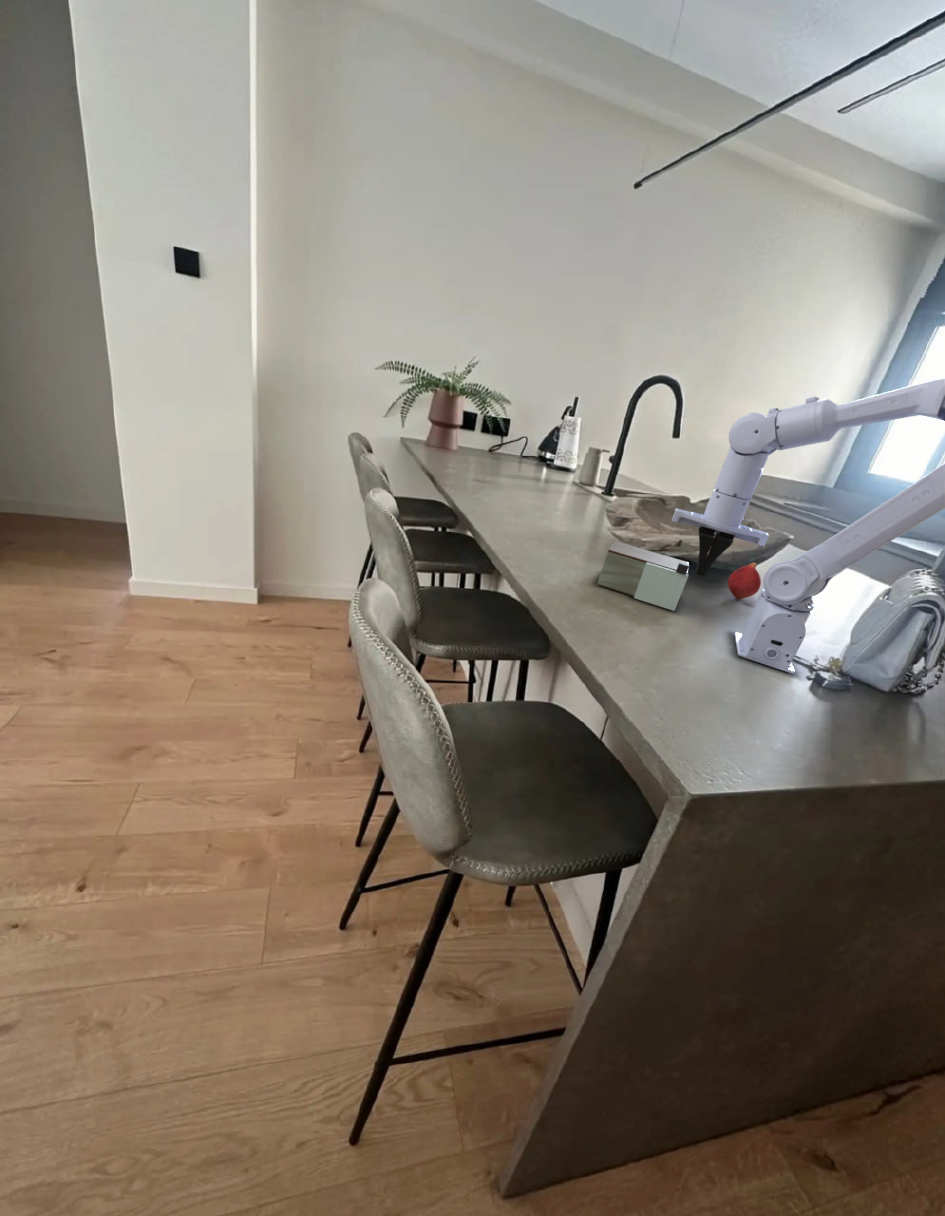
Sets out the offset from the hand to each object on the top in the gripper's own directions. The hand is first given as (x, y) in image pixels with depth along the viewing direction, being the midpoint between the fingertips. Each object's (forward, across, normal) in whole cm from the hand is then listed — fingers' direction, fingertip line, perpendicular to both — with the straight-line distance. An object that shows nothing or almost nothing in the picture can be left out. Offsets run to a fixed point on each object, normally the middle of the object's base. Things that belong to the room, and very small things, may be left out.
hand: (699, 573), depth 89 cm
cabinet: (+8, +9, -5) cm, 13 cm away
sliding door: (+8, +5, 0) cm, 9 cm away
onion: (+8, -10, -20) cm, 24 cm away
